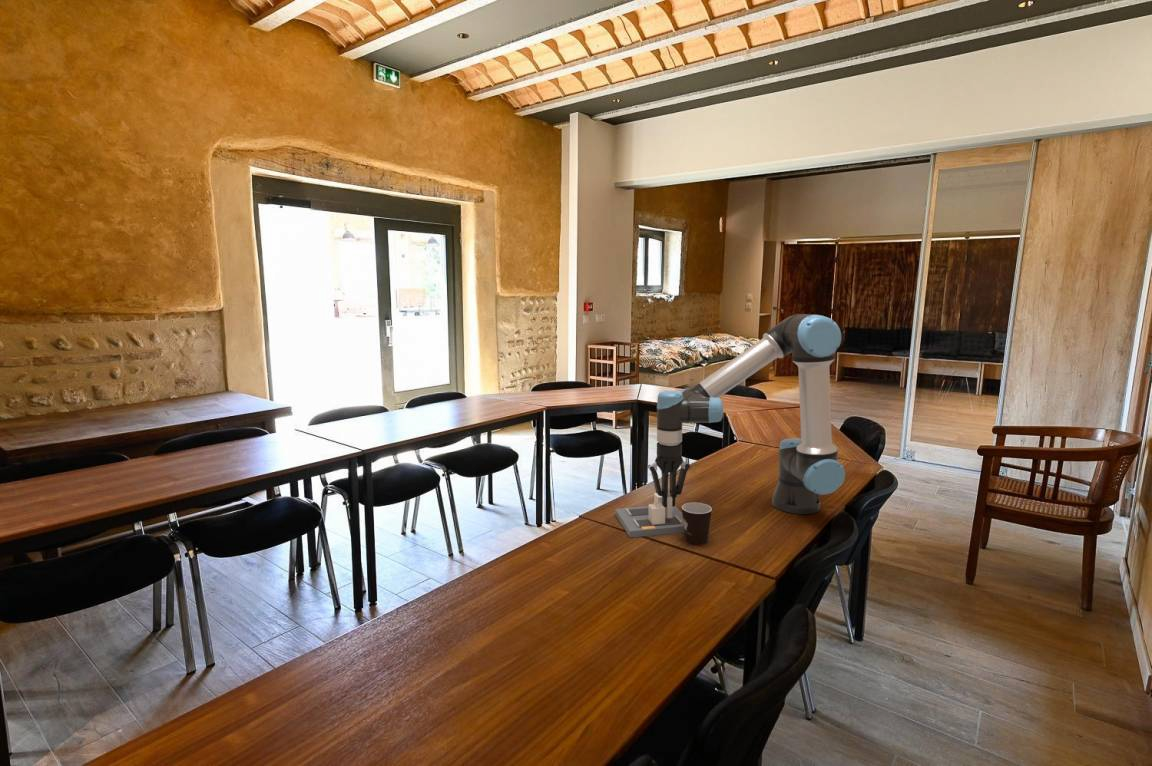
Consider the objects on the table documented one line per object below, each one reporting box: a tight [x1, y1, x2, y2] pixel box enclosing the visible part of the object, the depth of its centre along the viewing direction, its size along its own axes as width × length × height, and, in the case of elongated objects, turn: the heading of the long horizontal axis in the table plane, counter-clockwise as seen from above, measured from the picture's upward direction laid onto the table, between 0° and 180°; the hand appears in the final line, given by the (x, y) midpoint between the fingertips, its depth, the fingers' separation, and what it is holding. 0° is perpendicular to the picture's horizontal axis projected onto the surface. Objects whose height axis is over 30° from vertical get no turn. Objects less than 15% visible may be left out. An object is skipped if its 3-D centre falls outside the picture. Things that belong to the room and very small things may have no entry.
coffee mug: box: [681, 502, 713, 546], centre depth 166 cm, size 12×9×10 cm
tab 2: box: [647, 501, 665, 525], centre depth 174 cm, size 4×4×6 cm
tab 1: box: [653, 492, 662, 504], centre depth 183 cm, size 4×4×6 cm
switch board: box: [614, 505, 685, 539], centre depth 179 cm, size 20×18×3 cm
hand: (668, 516), depth 175 cm, fingers closed
